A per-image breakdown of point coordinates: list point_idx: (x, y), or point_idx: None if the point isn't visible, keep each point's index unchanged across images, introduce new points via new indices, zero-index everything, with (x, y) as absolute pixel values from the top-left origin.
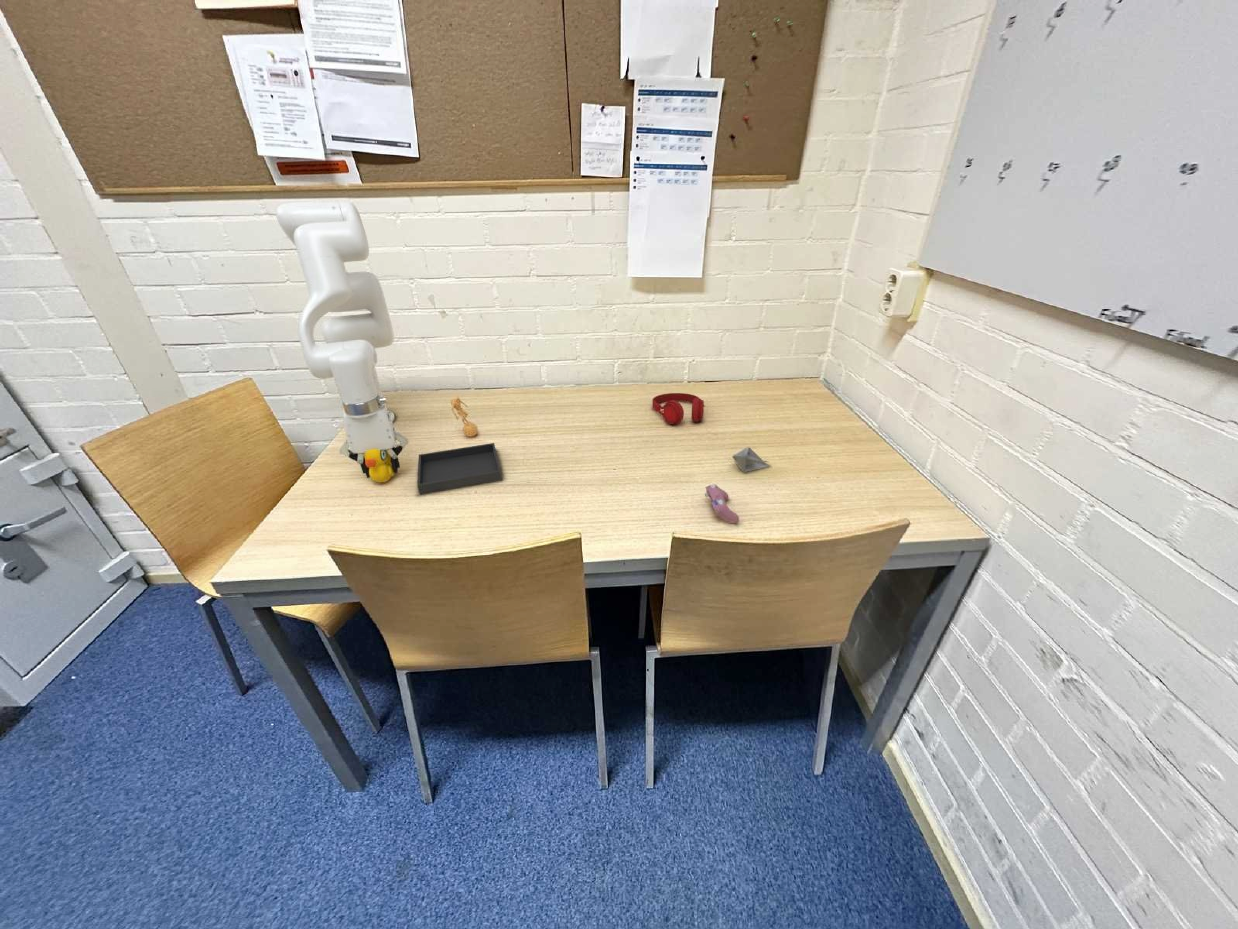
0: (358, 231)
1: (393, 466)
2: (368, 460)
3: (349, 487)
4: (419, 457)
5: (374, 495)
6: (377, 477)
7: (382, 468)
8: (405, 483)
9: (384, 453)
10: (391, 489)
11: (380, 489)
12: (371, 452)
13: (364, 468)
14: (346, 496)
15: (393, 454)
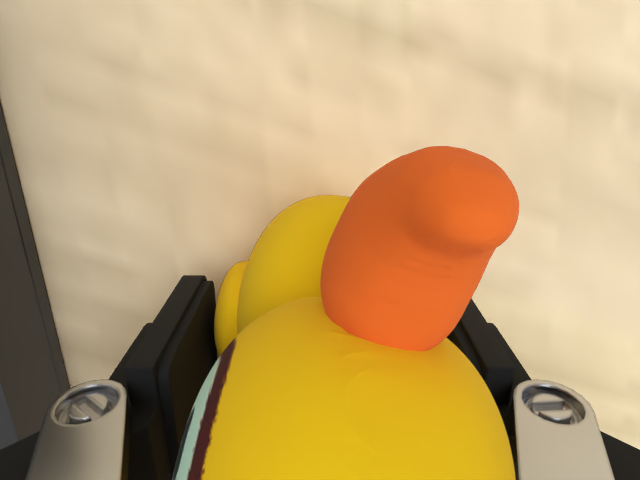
0: None
1: (176, 311)
2: (439, 185)
3: (583, 258)
4: (9, 444)
5: (390, 53)
6: (349, 197)
7: (277, 267)
8: (142, 173)
9: (178, 461)
10: (250, 110)
11: (344, 143)
12: (369, 477)
13: (485, 330)
14: (620, 122)
15: (72, 431)
